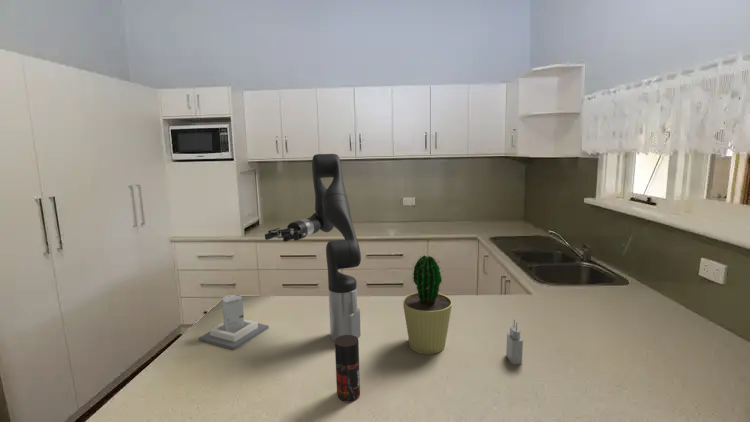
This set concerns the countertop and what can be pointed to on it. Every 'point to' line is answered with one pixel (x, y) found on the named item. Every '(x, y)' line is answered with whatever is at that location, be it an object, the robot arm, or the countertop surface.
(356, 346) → the deodorant
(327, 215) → the robot arm
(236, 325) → the skincare box
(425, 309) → the potted cactus
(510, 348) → the power adapter
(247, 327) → the socket plate
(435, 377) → the countertop surface
